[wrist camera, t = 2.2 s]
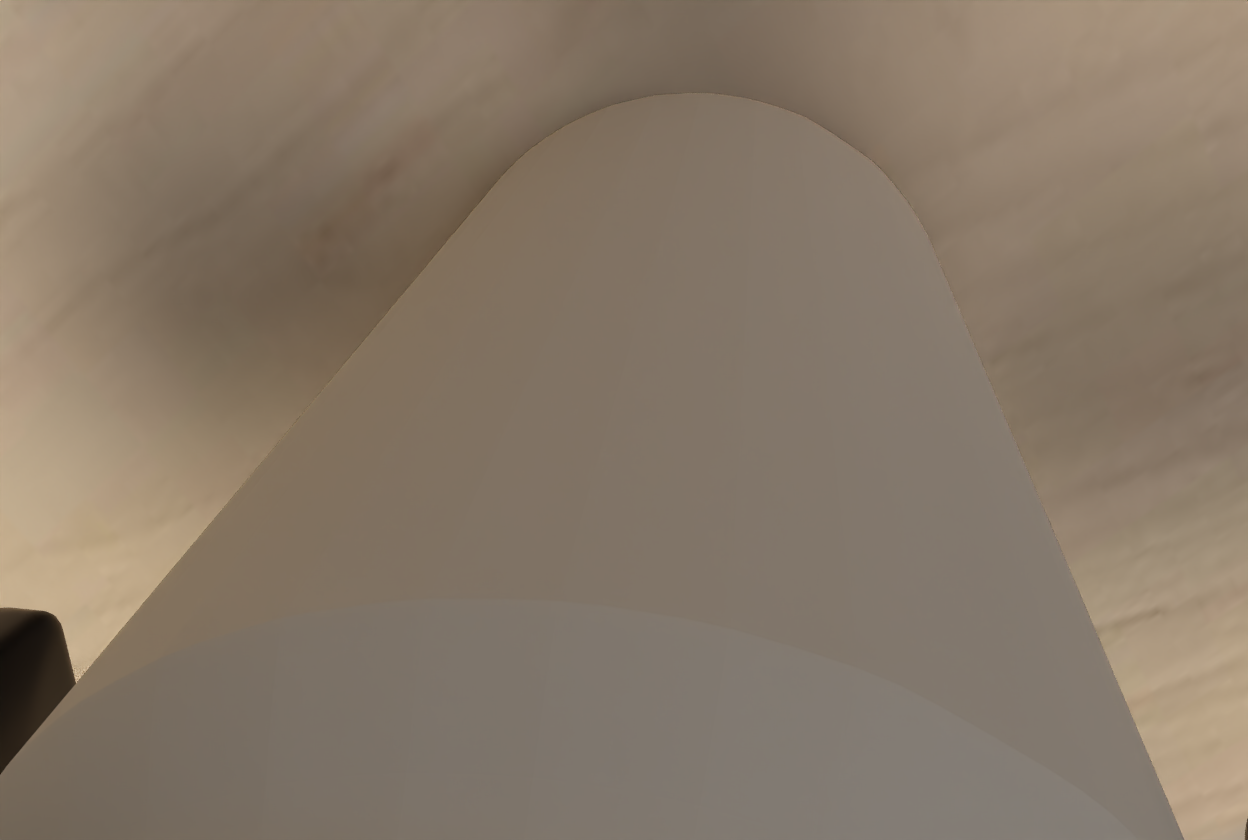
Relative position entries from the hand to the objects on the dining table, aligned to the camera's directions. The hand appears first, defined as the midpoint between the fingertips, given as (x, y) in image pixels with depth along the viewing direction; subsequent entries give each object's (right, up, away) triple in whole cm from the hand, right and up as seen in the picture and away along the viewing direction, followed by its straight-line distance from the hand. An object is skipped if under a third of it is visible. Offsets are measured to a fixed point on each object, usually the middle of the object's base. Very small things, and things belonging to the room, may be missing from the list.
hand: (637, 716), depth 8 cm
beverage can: (+1, +4, +7) cm, 8 cm away
